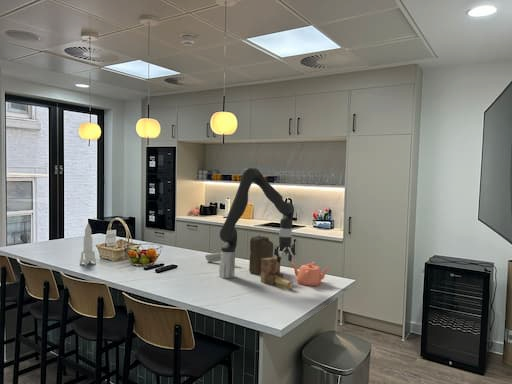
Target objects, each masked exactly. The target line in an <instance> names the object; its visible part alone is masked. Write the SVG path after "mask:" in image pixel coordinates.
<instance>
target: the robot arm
mask: <svg viewBox="0 0 512 384" xmlns="http://www.w3.org/2000/svg"><path fill="white" fill-rule="evenodd" d="M253 183H254V184H255V185H257V186H258V187H259V188H260V190H262V192H263V194H264V195H265V196H266V198H267V199H268V200H269V201H270V202H271V203H272V204H273V205H274V207H275V208H276V210H277V211H278V212H279V213H280V214H282V218H281V219H280V223H279V234H278V239H279V240H278V243H279V245H274V249H273V256H275V257H277V262H278V263H280V264H281V260H280V258H281V259H282V257H281V256H282V254H283V253H287V254H288V256H287V258H288V259H287V260H288V262H292V261H293V260H292V259H293V255H295V254H296V244H294V243H292V239H293V238H292V237H293V232H292V231H293V229H292V228H293V227H292V225H293V218H294V214H295V206H294V204H293V203H292V202H286V201H284V198H283V196H282V195H281V193H280V192H278V191H277V190H276V189H275V188H274V187H273V186H272V185H271V184H270V183H269V182H268V181H267V179H266V178H265V177H264V176H263V174H262V173H261V171H260V170H259V169H258V168H255V167H247V168H245V169H244V170H243V172H242V175H241V177H240V182H239V186H238V189H237V191H236V193H235V196H234V199H233V200H232V203H231V205H230V209H229V211H228V213H227V216H226V219H225V220H224V223H223V225H222V226H221V229H220V230H219V237H220V240H221V241H222V242H223V244H222V246H221V248H220V249H221V251H220V253H221V261H219V268H218V269H219V272H218V273H219V277H220V278H222V279H233V278H235V271H236V270H235V269H236V268H235V267H236V248H237V244H238V230H237V228H236V227H235V226H236V224H237V223H238V221H239V220H240V218H241V217H242V216H243V214H244V213H245V211H246V208H247V206H248V203H249V192H250V191H249V190H250V188H251V186H252V184H253Z"/></svg>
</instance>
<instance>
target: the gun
mask: <svg viewBox="0 0 512 384" xmlns="http://www.w3.org/2000/svg"><path fill="white" fill-rule="evenodd" d="M204 256H205V259H206V261H207V263H215V262H221V252H215V253H210V254H209V253H208V254H205V255H204Z"/></svg>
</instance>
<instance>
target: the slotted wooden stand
mask: <svg viewBox="0 0 512 384" xmlns="http://www.w3.org/2000/svg"><path fill="white" fill-rule="evenodd" d="M260 260H261V274H260V283H262V284H267V285H270V286H275V285H274V279H275V276H274V275H277V276H280V277H282V278H284V276H285V275H284V273H281V262H280V263H278V262H277V256H273V257H269V258H261V259H260ZM281 260H282V257H281V258H280V261H281Z"/></svg>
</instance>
